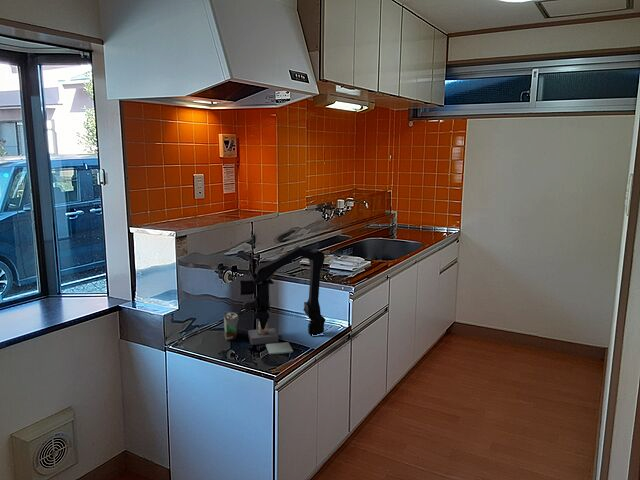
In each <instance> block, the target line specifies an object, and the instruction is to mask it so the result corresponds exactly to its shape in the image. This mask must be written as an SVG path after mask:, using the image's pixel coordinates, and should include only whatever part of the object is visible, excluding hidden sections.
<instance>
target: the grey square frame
mask: <svg viewBox="0 0 640 480" xmlns="http://www.w3.org/2000/svg"><path fill="white" fill-rule="evenodd" d="M247 334H248V335H247V337H248V340H249V343H250V345H251V346H253V345H254V346H256V345H266V344H273V343H279V334H278V333H277V331H276V328H274V327H273V328H271V327H270V328H268V335H259V328H258V329H249V330H247Z"/></svg>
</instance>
